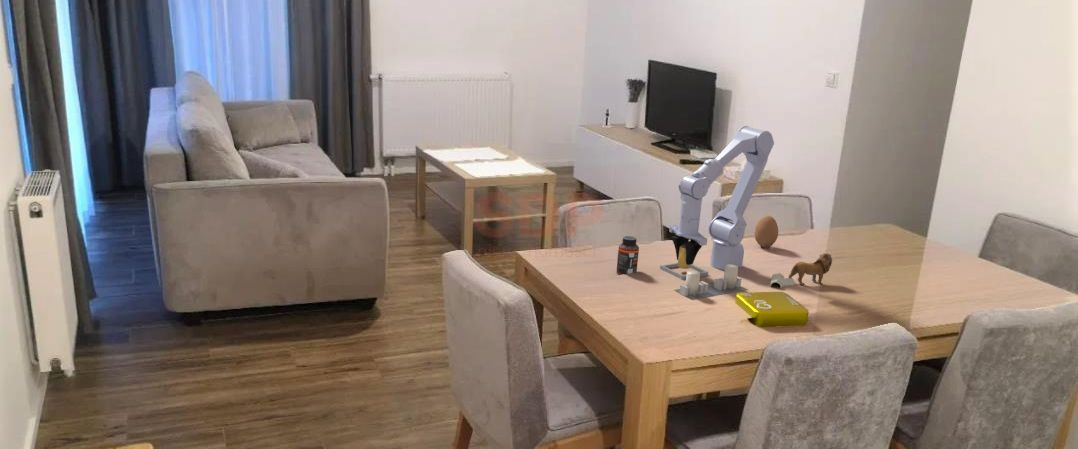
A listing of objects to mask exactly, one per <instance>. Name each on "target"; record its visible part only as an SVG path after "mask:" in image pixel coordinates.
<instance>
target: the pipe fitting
mask: <svg viewBox="0 0 1078 449" xmlns="http://www.w3.org/2000/svg"><path fill="white" fill-rule="evenodd" d="M771 276H772V277H771V280H770V283H769V287H770V288H771V287H772V284H774V283H777V284H779V286H780V287H779V288H780V290H782V288H783V287H785V288H786V287H792V286H795V285H796V282H795V280H794V278H793V277H792V278H788V277H787V278H786V277H785V276H784V275H783V274H782V273H780V272H777V273H776V272H775V273H774V274H772V275H771Z"/></svg>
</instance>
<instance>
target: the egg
mask: <svg viewBox="0 0 1078 449" xmlns="http://www.w3.org/2000/svg"><path fill="white" fill-rule="evenodd" d="M778 237H779V227H778V223H777V221H776V219H775V218H774V217H772V216H771V215H765V216H763V217H762V218H760V219H759V220H758V222H757V223H756V225H755V229H754V239H755V241H756V243H757V244H758V245H759V246H760V247H762V248H763V249H764V248H765V249H766V248H767V249H768V248H769V247H772V246H773V245H774V244H775V243H776V241H777V239H778Z"/></svg>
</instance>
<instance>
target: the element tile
mask: <svg viewBox="0 0 1078 449" xmlns="http://www.w3.org/2000/svg"><path fill="white" fill-rule="evenodd" d="M734 301H735V304H736V305H737V306H738V307H740V308H741V310H743V311H744V312H745V313H746V314H748V315H749V317H747V318H746V319H747V321H749V323H751V324H752V325H753V326H756V327H758V328H775V327H776V326H783V327H804V326H807V325H808V318H809V309H807V308H806V307H805V306H804V305H802V304H801V303H800V302H798V301H797V300H796V299H794V298H793V297H792V296H791V295H789V294H788V293H787V292H785V291H784V292H783V291H756V292H755V291H752V292H751V291H749V292H747V291H745V292H744V291H739V292H736V293H735V300H734ZM806 324H807V325H806Z"/></svg>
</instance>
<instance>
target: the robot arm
mask: <svg viewBox="0 0 1078 449" xmlns="http://www.w3.org/2000/svg"><path fill="white" fill-rule="evenodd" d="M774 146H775V141H774V138H773V135H772V133H771V132H770V131H768V130H762V129H758V128H753V127H750V126H748V125H743V126H741V127H739V129H737V131H736V132H734V134H733V139H732V140H731V141H730V142H729V144H727V145H726V147H725V148H724V149H723V150H722V151H721V152H720V153H719V154H718V155H717V156H716V157H715V158H709V159H706V160H705V161H704V162H703V164H702V165H700V166H699V167H698V169H696V171H694V172H692V174H691V175H686V176H685V177H683V178H682V179H681V181H680V183H679V184H678V191H679V193H680V199H681V204H680V211H679V212H680V213H679V222H678V225H675V224H673V225H669V230H668V231H669V233H671V234H672V233H674V234H675V235H672V236H671V238H670V239H671V240H672V244H673V245H674V248H675V256H676V260H677V261H678V258H679V249H680V246H682V244H685V247H686V264H687V265H690V264H693V265H694V263H695V259H696V256H697V255H698V253H699V251H700V250H701V248H702V247H703V246H707V245H708V238H707V237H705V236H704V235H703V234H701V232H699V228H700V220H701V211H702V202H703V198H704V197H705V196H706V195H707V193H708V190H709V189H710V188H711V185H712V184H713V183H714V182H715V181H716V180H717V179H719V177H721V175H723V173H724V167H726V166H727V165H728V164H729V163H731V162H732V161H733V160H735V159H736V158H737V157H738V156H739V155H741V154H742V153H743V155H744V156H745V158H746V163H745V165H744V168H743V170H742V172H741V173H740V176H739V179H738V181H737V182H736V185H735V187H734V189H733V191H732V194H731V196H730V198H729V201H728V202H727V204H726V207H725V208H724V209H722V210H720V211H718V212H717V213H716V215H715V217H714V218H713V219H712V220H711V222H710V223H709V225H708V234H709V235H710V237H711V241H712V243H711V244H712V245H711V252H710V254H711V255H710V263H709V266H710V267H712V268H714V269H716V270H723V271H725V265H729V264H730V265H736V266H738V268H742V267H743V262H744V255H745V248H744V246H743V244H742V241H743V240H744V237H745V231H746V227H747V222H746V220H745V218H744V214H745V211H746V210H747V207H748V205H749V203H750V200H751V198H752V196H753V194H754V192H755V190H756V188H757V185H758V183H759V181H760V179H761V176H762V174H763V172H764V170H765V167H766V165H767V163H768V160H769V156H770V154H771V151H772V149H773V147H774Z"/></svg>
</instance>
